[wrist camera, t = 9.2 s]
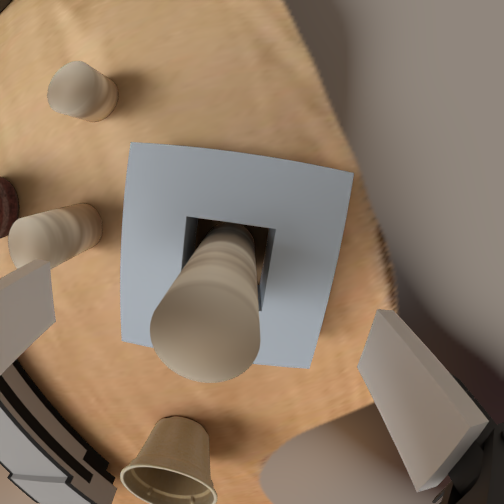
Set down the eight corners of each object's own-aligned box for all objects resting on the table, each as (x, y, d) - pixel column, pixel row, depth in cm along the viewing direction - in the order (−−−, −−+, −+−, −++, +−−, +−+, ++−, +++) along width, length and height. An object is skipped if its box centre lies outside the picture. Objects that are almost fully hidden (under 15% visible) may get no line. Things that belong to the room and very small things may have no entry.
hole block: (154, 147, 22) (130, 142, 17) (333, 173, 23) (354, 173, 18) (141, 313, 25) (121, 340, 21) (299, 335, 26) (309, 368, 21)
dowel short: (86, 76, 20) (58, 60, 15) (124, 80, 21) (100, 62, 16) (72, 118, 21) (40, 110, 16) (109, 125, 21) (81, 115, 17)
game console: (-22, 283, 25) (-66, 308, 17) (123, 470, 32) (108, 511, 24) (-60, 331, 27) (-88, 352, 20) (51, 473, 35) (36, 502, 27)
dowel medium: (66, 201, 23) (7, 214, 15) (103, 205, 23) (48, 220, 15) (65, 245, 24) (10, 271, 16) (101, 251, 24) (50, 282, 16)
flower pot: (150, 452, 30) (134, 504, 22) (133, 399, 28) (107, 457, 20) (225, 458, 30) (220, 515, 22) (220, 407, 28) (212, 472, 20)
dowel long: (207, 218, 23) (151, 278, 10) (258, 226, 24) (269, 296, 10) (201, 267, 24) (149, 372, 11) (250, 275, 25) (251, 389, 11)
